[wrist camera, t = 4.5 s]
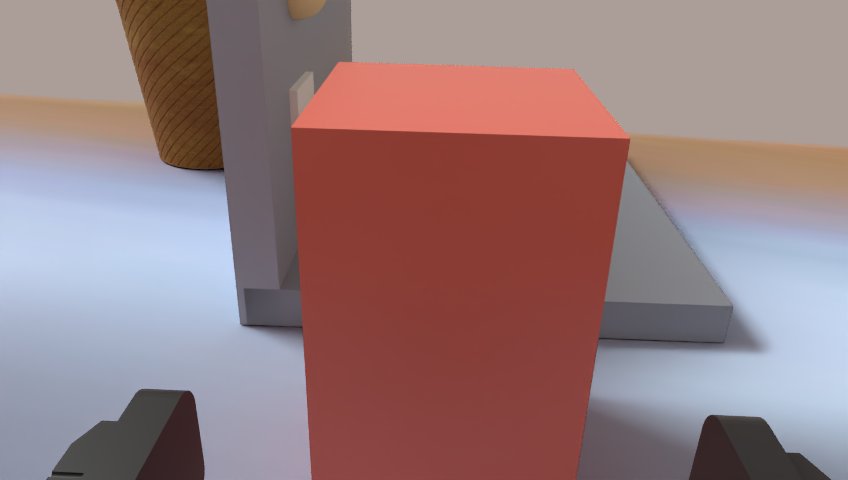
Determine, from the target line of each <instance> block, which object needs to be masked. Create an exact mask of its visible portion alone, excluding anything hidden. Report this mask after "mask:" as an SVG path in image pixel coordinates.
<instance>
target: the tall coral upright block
mask: <svg viewBox="0 0 848 480" xmlns="http://www.w3.org/2000/svg"><path fill="white" fill-rule="evenodd" d="M291 139H292V156H293V172H294V189H295V206H296V223H297V240H298V256H299V273H300V290H301V307H302V324H303V340H304V357H305V374H306V391H307V408H308V424H309V441H310V458H311V475H312V480H576V477H577V471H578V465H579V458H580V452H581V446H582V439H583V433H584V427H585V420H586V414H587V408H588V402H589V395H590V389H591V383H592V376H593V370H594V364H595V357H596V351H597V345H598V339H599V332H600V326H601V320H602V313H603V307H604V301H605V294H606V288H607V282H608V276H609V269H610V263H611V257H612V250H613V244H614V238H615V231H616V225H617V219H618V213H619V206H620V200H621V194H622V187H623V181H624V175H625V169H626V162H627V156H628V150H629V143H630V138H629V137H628V135H627V134H626V133H625V132H624V130H623V129H622V128H621V127H620V125H618V123H617V122H616V121H615V119H614V118H613V117H612V116H611V114H610V113H609V112H608V111H607V110H606V108H605V107H604V106H603V105H602V104H601V102H600V101H599V100H598V99H597V97H596V96H595V95H594V94H593V92H592V91H591V90H590V89H589V88H588V86H587V85H586V84H585V83H584V81H583V80H582V79H581V78H580V77H579V75H578V74H577V73H576V72H575V71H574V69H550V68H516V67H485V66H454V65H421V64H390V63H358V62H338V64H337V65H336V66H335V68H334V69H333V70H332V72H331V73H330V75H329V76H328V77H327V79H326V80H325V81H324V83H323V84H322V86H321V87H320V88H319V90H318V91H317V92H316V94H315V95H314V96H313V98H312V99H311V101H310V102H309V103H308V105H307V106H306V107H305V109H304V110H303V112H302V113H301V114H300V116H299V117H298V118H297V120H296V121H295V122H294V124H293V125H292V127H291Z"/></svg>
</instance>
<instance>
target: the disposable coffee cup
mask: <svg viewBox="0 0 848 480" xmlns="http://www.w3.org/2000/svg"><path fill="white" fill-rule="evenodd" d="M116 3H117V6H118V9H119V13H120V16H121V19H122V24H123V27H124V30H125V33H126V38H127V41H128V44H129V49H130V52H131V55H132V59H133V63H134V66H135V70H136V73H137V76H138V81H139V84H140V87H141V91H142V94H143V98H144V101H145V105H146V108H147V112H148V115H149V119H150V122H151V126H152V129H153V132H154V137H155V140H156V144H157V147H158V151H159V155H160V158H161V160H163V161H164V162H166V163H168V164H171V165H174V166H178V167H184V168H192V169H218V168H224V164H223V155H222V145H221V136H220V126H219V117H218V107H217V98H216V88H215V79H214V69H213V60H212V50H211V41H210V31H209V22H208V12H207V2H206V0H116Z"/></svg>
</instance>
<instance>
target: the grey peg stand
mask: <svg viewBox="0 0 848 480" xmlns="http://www.w3.org/2000/svg"><path fill="white" fill-rule="evenodd" d="M206 2H207V12H208V22H209V31H210V41H211V50H212V60H213V69H214V79H215V88H216V98H217V107H218V117H219V126H220V136H221V145H222V155H223V164H224V174H225V183H226V193H227V202H228V212H229V221H230V231H231V240H232V250H233V259H234V269H235V279H236V288H237V298H238V307H239V317H240V324H243V325H270V326H296V327H303V324H302V307H301V290H300V273H299V256H298V240H297V223H296V206H295V189H294V172H293V156H292V139H291V127H292V125H293V124H294V122H295V121H296V120H297V118H298V117H299V116H300V114H301V113H302V112H303V110H304V109H305V107H306V106H307V105H308V103H309V102H310V101H311V99H312V98H313V96H314V95H315V94H316V92H317V91H318V90H319V88H320V87H321V86H322V84H323V83H324V81H325V80H326V79H327V77H328V76H329V75H330V73H331V72H332V70H333V69H334V68H335V66H336V65H337V64H338V62H352V45H351V43H352V41H351V0H206ZM732 309H733V305H732V304H731V302H730V301H729V300H728V298H727V297H726V296H725V294H724V293H723V291H722V290H721V289H720V287H719V286H718V285H717V283H716V282H715V280H714V279H713V278H712V276H711V275H710V274H709V272H708V271H707V270H706V268H705V267H704V265H703V264H702V263H701V261H700V260H699V259H698V257H697V256H696V254H695V253H694V252H693V250H692V249H691V248H690V246H689V245H688V244H687V242H686V241H685V239H684V238H683V237H682V235H681V234H680V233H679V231H678V230H677V228H676V227H675V226H674V224H673V223H672V222H671V220H670V219H669V218H668V216H667V215H666V213H665V212H664V211H663V209H662V208H661V207H660V205H659V204H658V202H657V201H656V200H655V198H654V197H653V196H652V194H651V193H650V192H649V190H648V189H647V187H646V186H645V185H644V183H643V182H642V181H641V179H640V178H639V176H638V175H637V174H636V172H635V171H634V170H633V168H632V167H631V166H630V164H629V163H628V161H627V162H626V169H625V175H624V181H623V187H622V194H621V200H620V206H619V213H618V219H617V225H616V231H615V238H614V244H613V250H612V257H611V263H610V269H609V276H608V282H607V288H606V294H605V301H604V307H603V313H602V320H601V326H600V332H599V338H616V339H642V340H669V341H695V342H722V343H724V341H725V337H726V333H727V329H728V325H729V321H730V317H731V313H732Z"/></svg>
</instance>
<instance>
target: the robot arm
mask: <svg viewBox="0 0 848 480" xmlns="http://www.w3.org/2000/svg"><path fill="white" fill-rule="evenodd" d="M46 480H204V459H203V452H202V445H201V438H200V432H199V425H198V418H197V411H196V404H195V399H194V396H193V394H192V393H191V392H190V391H182V390H159V389H141V390H139V391H138V392H137V393H136V394H135V395H134V397H133V398H132V400H131V402H130V403H129V405H128V406H127V408H126V409H125V411H124V412H123V414H122V415H121V417H120V418H119V420H118V421H101V422H100V423H98V424H97V425H96V426H94V427H93V428H92V429H90V430H89V431H88V432H86V433H85V434H84V435H83V436H81V437H80V438H79V439H77V440H76V441H75V442H73V443H72V444H71V445H70V447H69V448H68V450H67V451H66V453H65V454H64V455H63V457H62V458H61V460H60V461H59V462H58V464H57V465H56V467H55V468H54V470H53V471H52V476H51V477H48V478H47V479H46ZM689 480H831V479H830V478H828V477H827V476H826V475H825V474H824V473H823V472H821V471H820V470H819V469H818V468H817V467H815V466H814V465H813V464H812V463H811V462H810V461H808V460H807V459H806V458H805V457H804V456H802V455H801V454H800V453H786V452H785V451H784V449H783V447H782V446H781V444H780V443H779V441H778V439H777V438H776V436H775V435H774V433H773V431H772V430H771V428H770V426H769V425H768V424H767V422H766V421H765V420H764V419H762V418H760V417H746V416H723V415H710V416H708V417H707V418H706V420H705V422H704V424H703V427H702V431H701V435H700V439H699V443H698V447H697V451H696V454H695V458H694V462H693V466H692V470H691V474H690V478H689Z"/></svg>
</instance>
